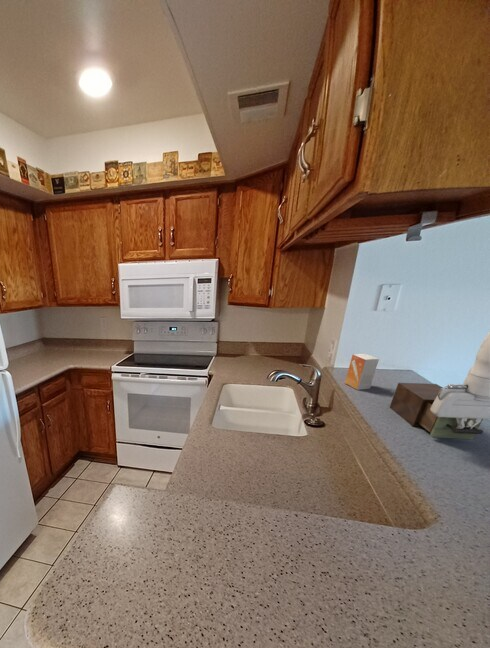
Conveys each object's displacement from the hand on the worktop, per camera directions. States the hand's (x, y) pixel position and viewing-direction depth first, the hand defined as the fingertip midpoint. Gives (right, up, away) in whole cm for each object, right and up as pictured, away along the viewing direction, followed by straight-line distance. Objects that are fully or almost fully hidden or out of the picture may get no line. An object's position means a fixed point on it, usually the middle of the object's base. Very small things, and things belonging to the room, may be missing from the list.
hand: (462, 430), depth 95 cm
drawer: (+1, 0, +8) cm, 8 cm away
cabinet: (+2, +5, +19) cm, 19 cm away
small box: (-4, +19, +46) cm, 50 cm away
